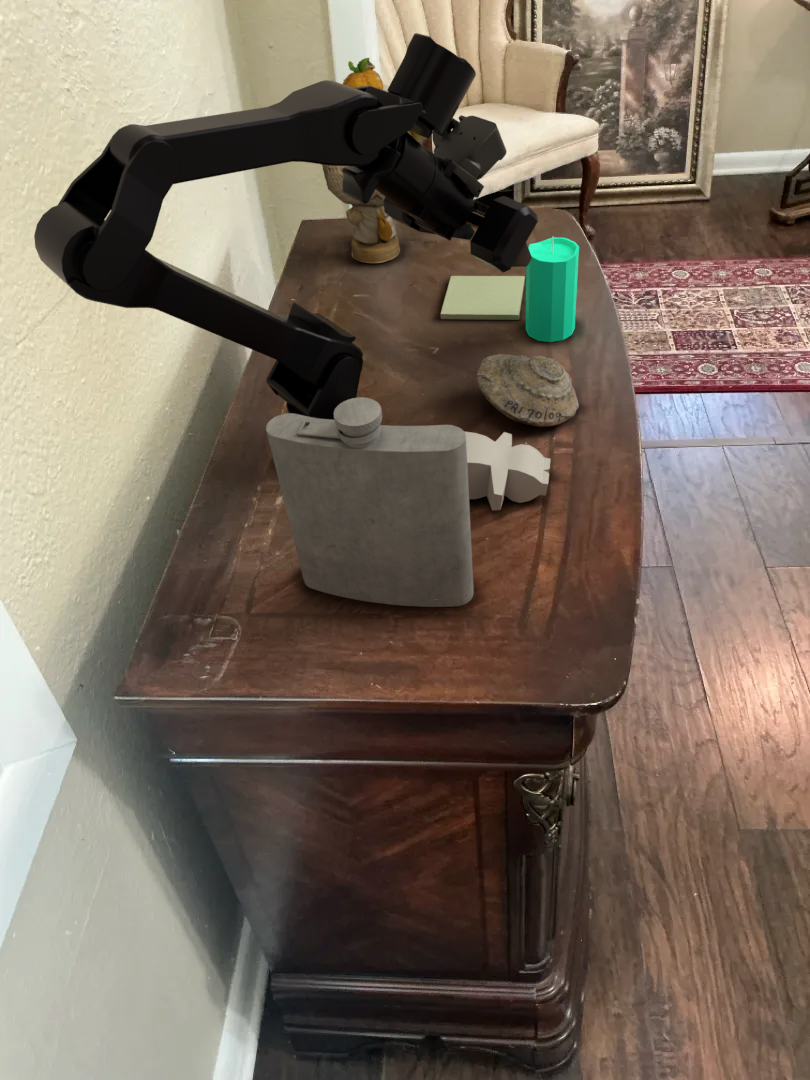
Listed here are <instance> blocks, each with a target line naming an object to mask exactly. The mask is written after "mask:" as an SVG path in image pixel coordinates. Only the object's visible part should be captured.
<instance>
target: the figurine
mask: <svg viewBox="0 0 810 1080" xmlns="http://www.w3.org/2000/svg"><path fill="white" fill-rule="evenodd" d="M347 63H348V65H347V66H348V68H349V71H352V72H350V73H349V74H348V75H347V76H346V77H345V78H344V79H342V80H343V82H342V84H343V85H346V86H349V87H352V88H354V87H361V86H368V85H369V86H372V87H375V88H378V89H381V90H384V83H383V80H382V78H381V75H380V73H378V72H377V71H376V70H375V69H376V65H375V64H373V63H372V62H371V61H370V57H364V58H362V59H361V60H360V61H358V63H357V64H356V66H355V65H354V63H353V62H352V61H351V60H349V61H348V62H347ZM408 133H409V134H411V135H412V136H413V137H414V138H415V139H416V140H417V141H419V142H420V143H421V144H422V145H423V143H426V141H427V140H428V138H425V137H423V136H420V135H419V134H417V133H415V132H413V131H412V130H410V131H408ZM320 165H321V166H322V171H323V176H324V179H325V182H326V187H327V189H328V191H329V192H331V194H332V195H333V196H334V197H336V198H337V199H338V200H339V201H340V202H341V203H344V204H345V205H351V206H352V207H350V208H349V209H347V210H346V211H345V214H346V219H347V221H348V223H350V224H351V225H353V229H352V237H353V238H352V240H351V257H352V258H353V259H354V260H356V261H358V262H361V263H367V264H382V263H385V262H389V261H392V260H393V259H395V258H396V257H397V256H399V254H400V253H401V247H400V240H399V238H398V236H397V235H398V234H397V230H396V227H395V223H394V221H395V220H394V219H393V218H392V217H390V216H389V215H387V214H386V213H385V212H384V202H383V201H384V199H385V196H384V195H382V194H381V193H380V192H378V191H377V190H376V189H375V191H374V193H373V195H372V197H371V198H370V200H369V202H368V203H366V204H365V203H362V202H360V201H358V200H356V199H354V198H352V197H350V196H348V195H346V194H344V193H343V190H342V189H343V186H342V182H343V173H342V169H343V168H344V167H348V166H330V165H323V164H320Z"/></svg>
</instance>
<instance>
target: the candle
mask: <svg viewBox="0 0 810 1080" xmlns="http://www.w3.org/2000/svg"><path fill="white" fill-rule="evenodd" d="M528 249H529V251H530V254H531V256H532V259H531V261H530V263H529V264H528V266H526V267H525V270H526V271H525V331H526V333H527V335H528V337H530V338H532V339H534V340H536V341H538V342H545V343H546V342H547V343H554V342H560V341H564V340H566V339H568V338H569V337H571V336H572V335H573V334H574V331H575V330H576V314H577V295H578V277H579V275H578V274H579V256H580V246H579V245H578V243H576V242H575V241H573V240H571V239H569V238H567V237H558V236H557V237H555V235H552V237H550V238H547V239H543V240H541V241H538V242H534V243H530V244H528Z"/></svg>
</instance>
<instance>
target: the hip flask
mask: <svg viewBox="0 0 810 1080" xmlns="http://www.w3.org/2000/svg"><path fill="white" fill-rule="evenodd" d="M382 411H383V410H382V406H381V405H380V403H379V402H378V401H376V400H375V399H372V398H370V397H363V396H361V397H356V398H352V399H348V400H346V401H344V402H342V403H340V404H339V405H338V406H337V407H336V408H335V410H334V420H330V419H318V418H313V417H308V416H303V415H299V414H293V413H288V412H287V413H282V414H279V415H277V416H274V417H273V418H271V419H270V420H269V421H268V423H266V426H265V431H266V434H267V435H266V436H267V439H268V443H269V447H270V450H271V455H272V459H273V464H274V466H275V470H276V475H277V479H278V483H279V487H280V490H281V491H280V492H281V494H282V499H283V503H284V507H285V511H286V515H287V519H288V524H289V527H290V530H291V535H292V539H293V542H294V546H295V551H296V554H297V555H296V556H297V559H298V564H299V567H300V570H301V574H302V579H303V583H304V584H305V585H306V587H308V588H309V589H311V590H315V591H318V592H322V593H324V594H328V595H332V596H337V597H341V598H346V599H350V600H356V601H361V602H367V603H368V602H370V603H376V604H383V605H384V604H385V605H392V606H403V607H404V606H405V607H418V608H419V607H422V608H425V607H427V608H446V607H449V608H450V607H451V608H452V607H461V606H464V605H467V604H468V603H469V602H470V601H472V599H473V597H474V593H475V592H474V591H475V590H474V573H473V571H474V570H473V551H472V532H471V512H470V511H471V510H470V509H471V507H470V499H469V488H468V468H467V448H466V434H465V432H466V431H464V430H463V428H461V427H459V426H456V425H453V424H435V425H434V424H433V425H386V424H381V423H382V421H383V413H382ZM466 595H467V596H466ZM464 596H465V597H464ZM459 598H460V599H459ZM425 599H426V600H425ZM433 599H438V600H433Z"/></svg>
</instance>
